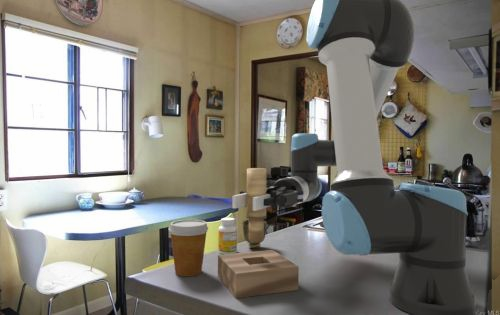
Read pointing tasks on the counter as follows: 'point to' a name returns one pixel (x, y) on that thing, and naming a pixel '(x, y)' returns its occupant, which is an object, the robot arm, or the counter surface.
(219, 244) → the supplement bottle
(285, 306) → the counter surface
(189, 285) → the counter surface
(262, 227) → the leg
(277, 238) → the counter surface
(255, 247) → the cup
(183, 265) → the disposable coffee cup
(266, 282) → the seat block
